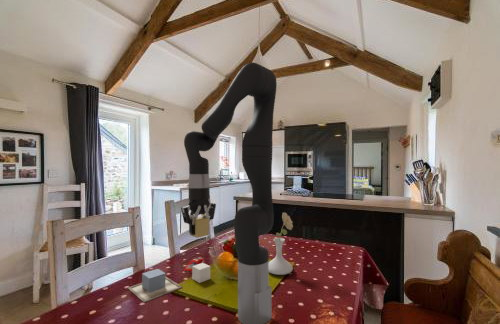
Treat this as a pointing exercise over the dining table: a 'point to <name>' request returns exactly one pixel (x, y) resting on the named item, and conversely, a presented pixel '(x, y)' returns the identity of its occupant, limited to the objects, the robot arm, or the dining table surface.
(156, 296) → the build plate
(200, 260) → the race car
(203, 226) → the ochre brick
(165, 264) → the dining table surface
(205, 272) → the cream brick
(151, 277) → the base brick
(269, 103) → the robot arm
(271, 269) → the flower in vase
